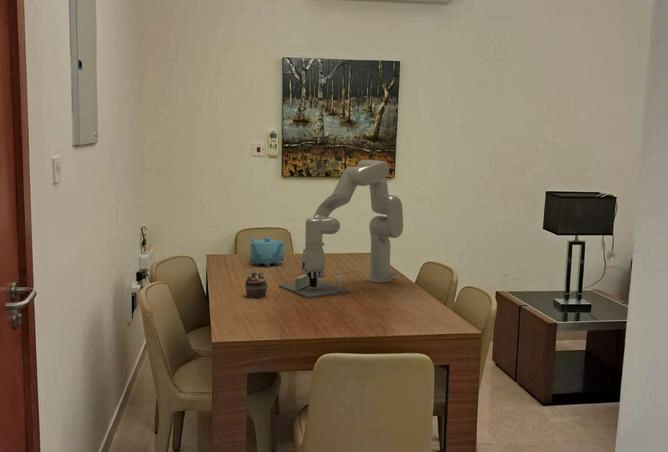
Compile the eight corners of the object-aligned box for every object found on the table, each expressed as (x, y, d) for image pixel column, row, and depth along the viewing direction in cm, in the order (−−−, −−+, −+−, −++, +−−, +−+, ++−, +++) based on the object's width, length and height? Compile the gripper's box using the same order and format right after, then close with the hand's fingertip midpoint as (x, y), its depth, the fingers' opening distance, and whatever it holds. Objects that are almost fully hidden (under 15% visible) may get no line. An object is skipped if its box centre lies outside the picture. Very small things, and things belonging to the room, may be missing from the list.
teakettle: (282, 261, 357) (282, 235, 356) (285, 267, 339) (285, 240, 337) (248, 261, 354) (248, 235, 352) (249, 268, 336) (249, 240, 334)
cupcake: (241, 297, 273) (241, 274, 272) (251, 292, 283) (251, 270, 281) (261, 299, 270) (261, 276, 269) (271, 294, 279) (271, 272, 278)
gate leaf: (317, 281, 301) (318, 271, 300) (299, 289, 283) (299, 278, 283) (314, 281, 302) (314, 270, 301) (295, 289, 284) (295, 278, 283)
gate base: (319, 282, 306) (319, 265, 305) (349, 292, 286) (350, 275, 285) (279, 287, 294) (279, 269, 293) (308, 298, 274) (308, 280, 273)
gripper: (323, 243, 291) (322, 283, 294) (294, 246, 283) (294, 286, 285) (332, 246, 285) (331, 286, 288) (303, 248, 277) (303, 290, 279)
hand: (313, 286), depth 287 cm, fingers closed
